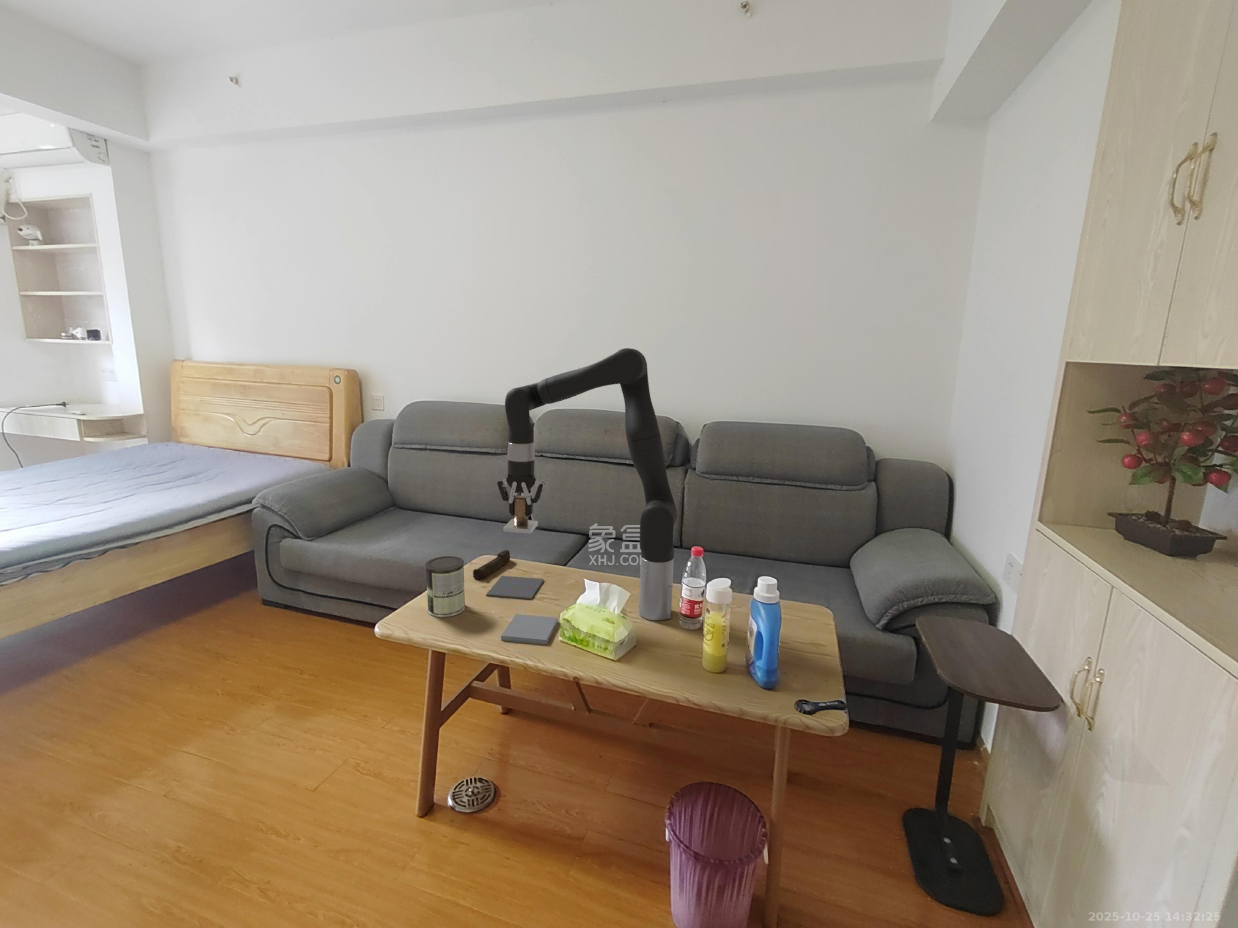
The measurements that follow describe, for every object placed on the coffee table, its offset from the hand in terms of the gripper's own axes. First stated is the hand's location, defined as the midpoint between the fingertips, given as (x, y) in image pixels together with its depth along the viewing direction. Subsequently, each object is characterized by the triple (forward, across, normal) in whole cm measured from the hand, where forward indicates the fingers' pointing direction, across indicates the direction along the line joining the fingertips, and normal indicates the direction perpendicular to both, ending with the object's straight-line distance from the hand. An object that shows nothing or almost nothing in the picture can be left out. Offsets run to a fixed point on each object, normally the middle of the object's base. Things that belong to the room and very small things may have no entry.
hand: (520, 515), depth 161 cm
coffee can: (+26, +19, +10) cm, 34 cm away
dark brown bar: (+27, +15, -19) cm, 36 cm away
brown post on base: (+4, 0, 0) cm, 4 cm away
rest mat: (+26, +3, -6) cm, 27 cm away
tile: (+24, -8, +13) cm, 29 cm away
